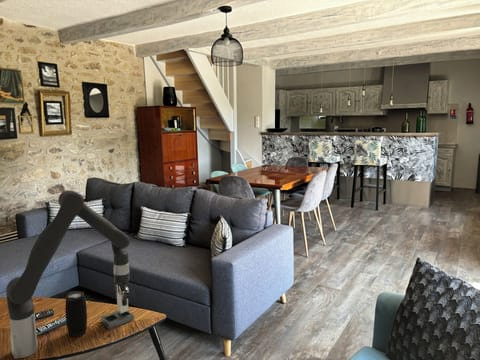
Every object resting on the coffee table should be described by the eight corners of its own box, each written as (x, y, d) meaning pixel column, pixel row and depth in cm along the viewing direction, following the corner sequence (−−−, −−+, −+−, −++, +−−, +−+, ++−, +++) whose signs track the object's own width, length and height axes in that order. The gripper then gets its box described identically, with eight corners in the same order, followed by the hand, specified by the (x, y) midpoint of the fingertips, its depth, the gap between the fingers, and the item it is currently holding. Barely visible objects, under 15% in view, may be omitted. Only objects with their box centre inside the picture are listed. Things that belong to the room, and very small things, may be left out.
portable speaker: (91, 329, 177) (89, 291, 174) (78, 339, 168) (76, 300, 165) (76, 326, 179) (74, 289, 177) (62, 337, 170) (60, 297, 168)
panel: (109, 329, 177) (108, 324, 177) (101, 321, 184) (100, 316, 184) (134, 320, 186) (133, 315, 185) (125, 312, 193) (125, 307, 193)
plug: (120, 313, 184) (120, 294, 182) (117, 310, 187) (116, 291, 185) (130, 310, 187) (129, 291, 186) (126, 307, 190) (126, 289, 189)
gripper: (108, 269, 186) (109, 301, 189) (120, 277, 176) (121, 311, 178) (122, 265, 191) (123, 296, 194) (135, 274, 181) (135, 306, 183)
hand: (122, 303), depth 186 cm, fingers closed on plug, 4 cm apart
